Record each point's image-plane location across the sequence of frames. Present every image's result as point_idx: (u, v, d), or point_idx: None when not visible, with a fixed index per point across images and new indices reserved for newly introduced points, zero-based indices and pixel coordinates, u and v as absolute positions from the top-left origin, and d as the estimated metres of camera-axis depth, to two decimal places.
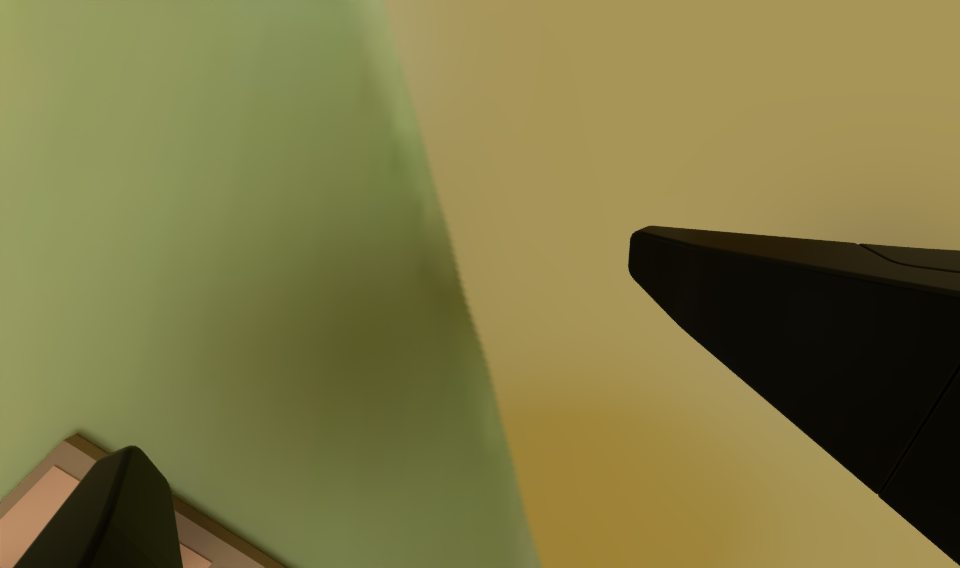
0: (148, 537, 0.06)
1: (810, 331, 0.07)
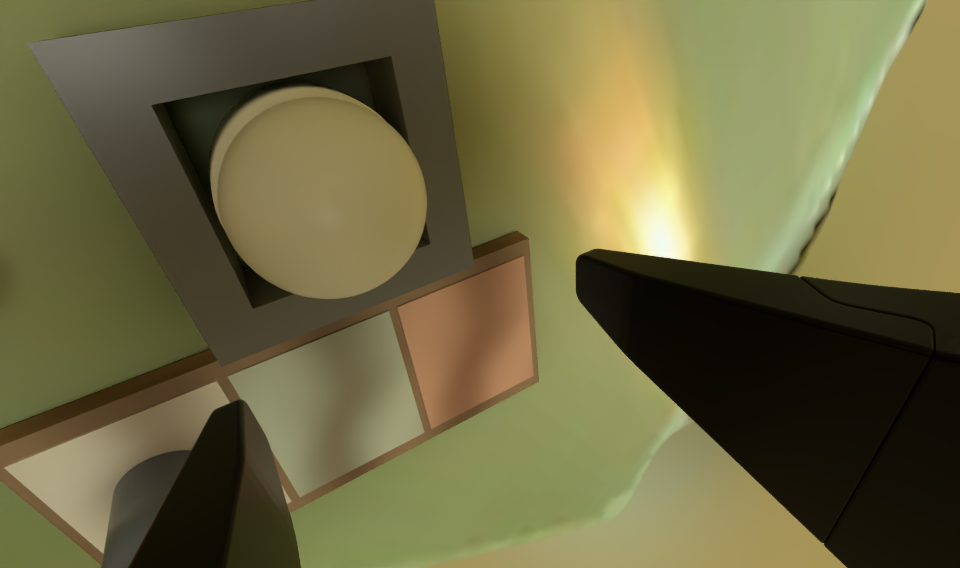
0: (266, 479, 0.06)
1: (748, 371, 0.06)
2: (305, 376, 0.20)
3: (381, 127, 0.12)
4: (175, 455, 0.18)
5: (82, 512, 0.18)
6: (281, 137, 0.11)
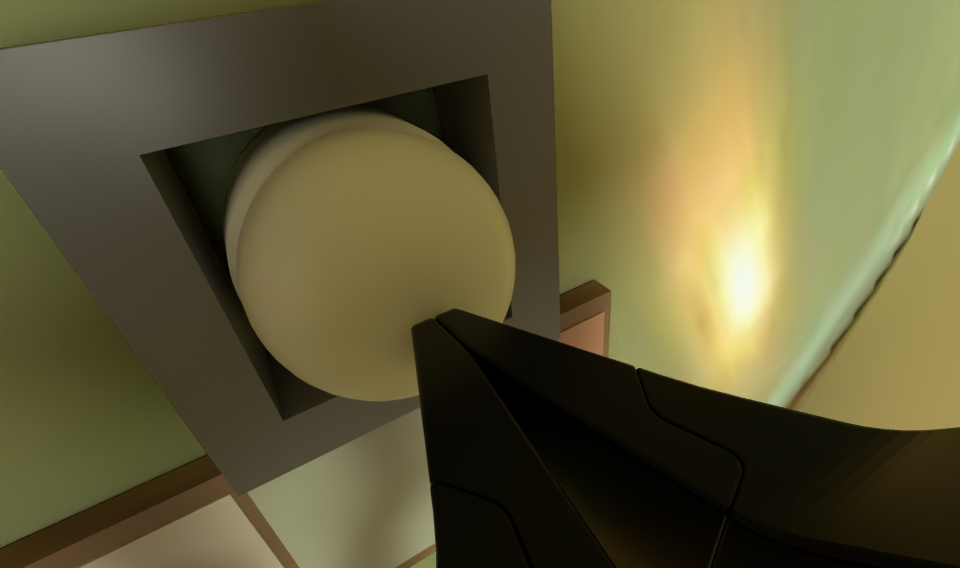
0: None
1: (577, 478, 0.05)
2: (340, 476, 0.16)
3: (465, 173, 0.09)
4: None
5: None
6: (334, 194, 0.08)
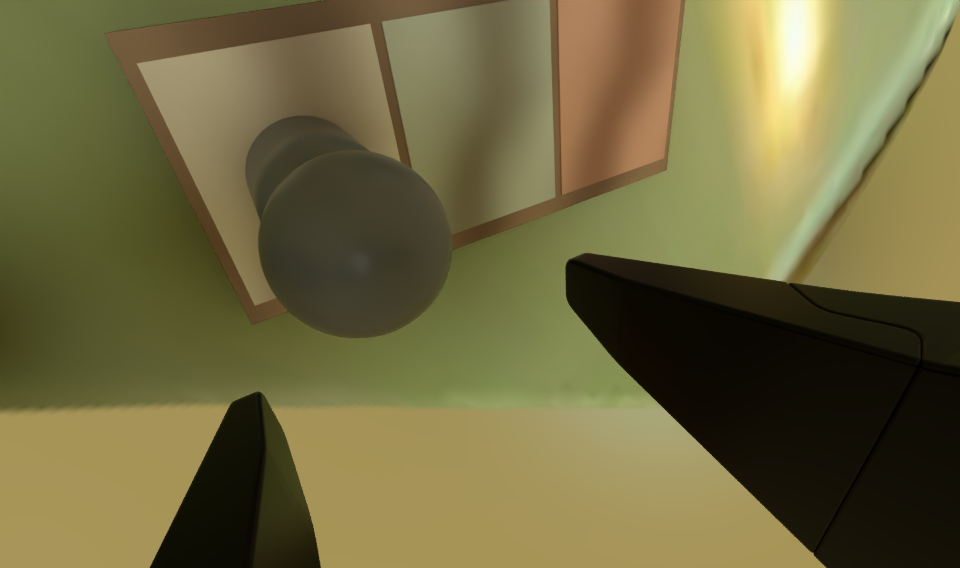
0: (285, 469, 0.06)
1: (737, 378, 0.06)
2: (456, 58, 0.17)
3: None
4: (320, 118, 0.15)
5: (211, 175, 0.15)
6: None
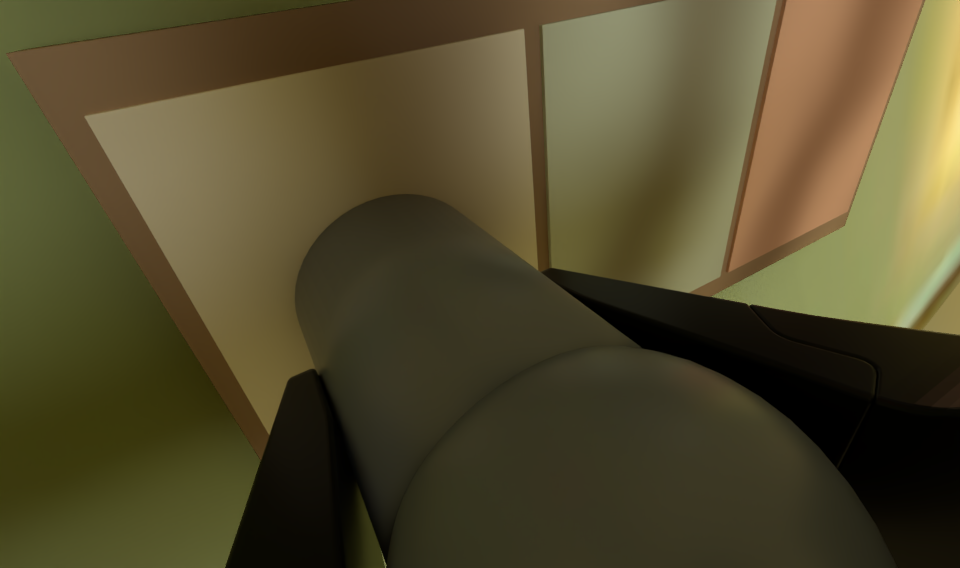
0: None
1: None
2: (640, 86, 0.10)
3: None
4: (430, 199, 0.09)
5: (236, 307, 0.08)
6: None
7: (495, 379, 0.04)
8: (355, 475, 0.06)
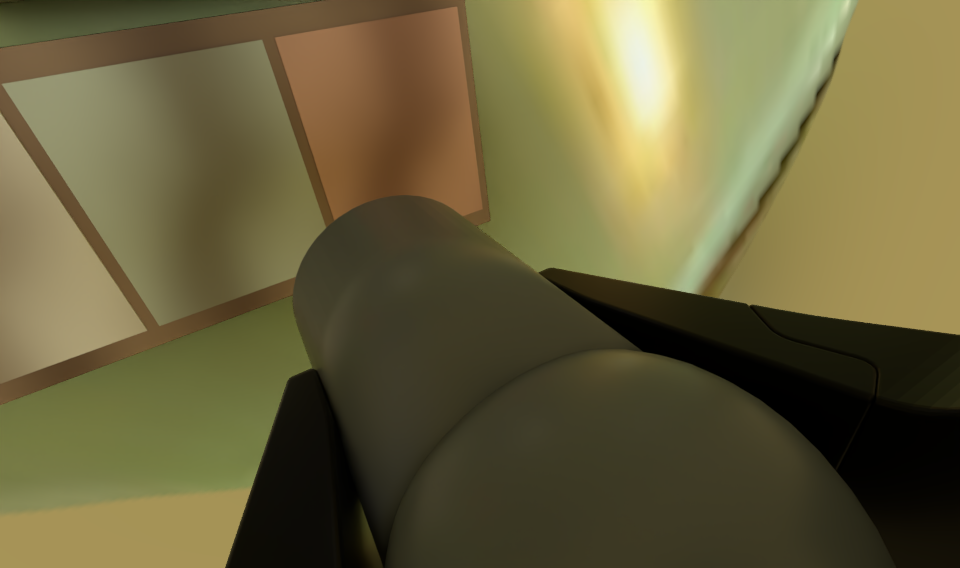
0: None
1: None
2: (139, 120, 0.14)
3: None
4: (429, 201, 0.09)
5: None
6: None
7: (493, 383, 0.04)
8: (353, 479, 0.06)
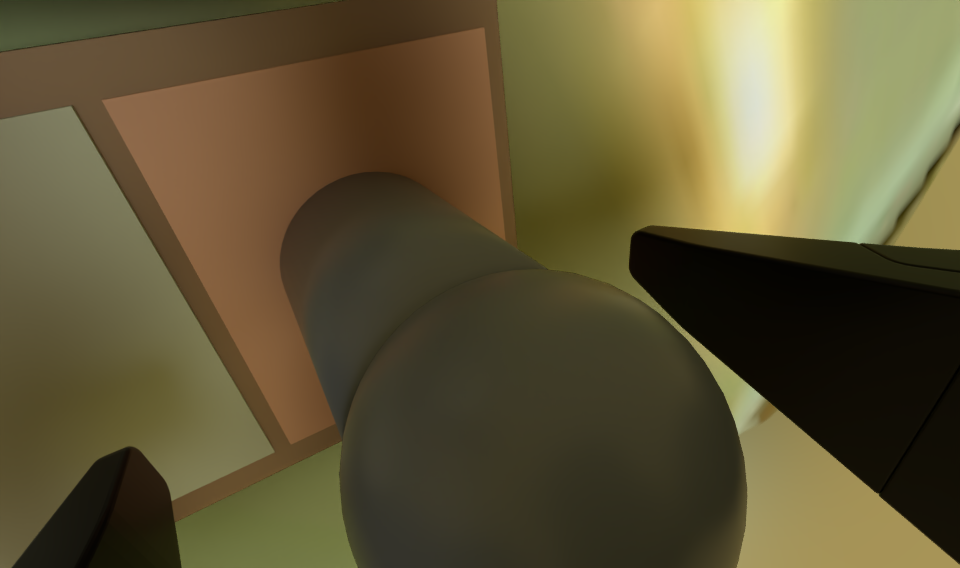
0: (146, 538, 0.06)
1: (809, 331, 0.07)
2: None
3: None
4: (397, 176, 0.10)
5: None
6: None
7: (428, 294, 0.06)
8: (325, 394, 0.07)
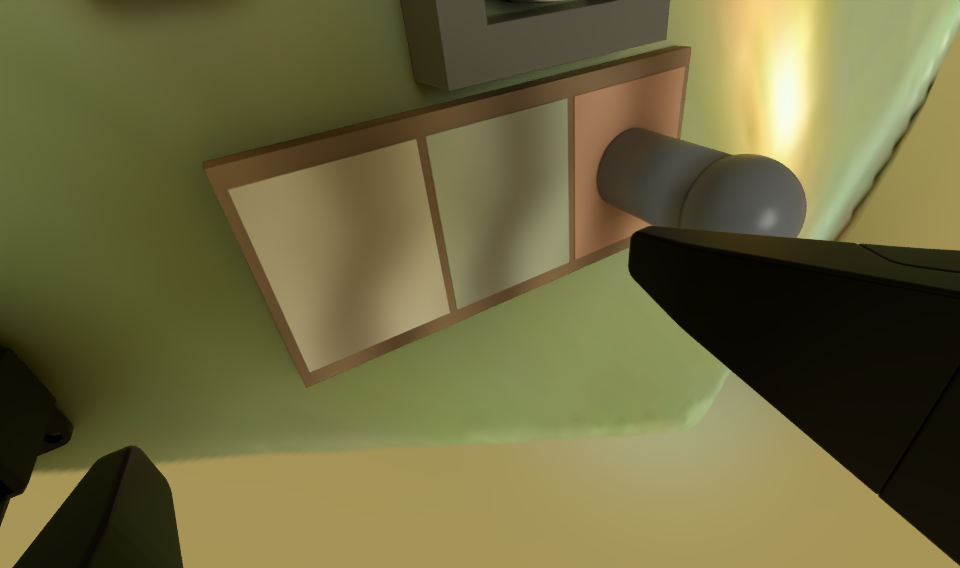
0: (148, 537, 0.06)
1: (809, 331, 0.07)
2: (487, 158, 0.19)
3: None
4: None
5: (280, 270, 0.17)
6: None
7: (710, 162, 0.19)
8: (659, 202, 0.20)
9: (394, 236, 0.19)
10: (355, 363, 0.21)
